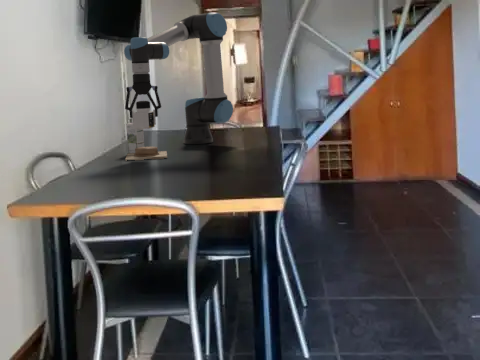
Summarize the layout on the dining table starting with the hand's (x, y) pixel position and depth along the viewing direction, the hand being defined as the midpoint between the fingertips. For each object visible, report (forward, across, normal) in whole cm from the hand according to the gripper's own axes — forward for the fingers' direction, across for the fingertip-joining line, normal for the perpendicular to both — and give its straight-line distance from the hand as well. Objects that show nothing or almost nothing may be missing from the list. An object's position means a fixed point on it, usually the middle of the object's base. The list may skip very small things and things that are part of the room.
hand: (144, 124), depth 274 cm
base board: (+14, 0, 0) cm, 14 cm away
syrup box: (+15, -5, +14) cm, 21 cm away
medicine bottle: (+2, 0, 0) cm, 2 cm away
